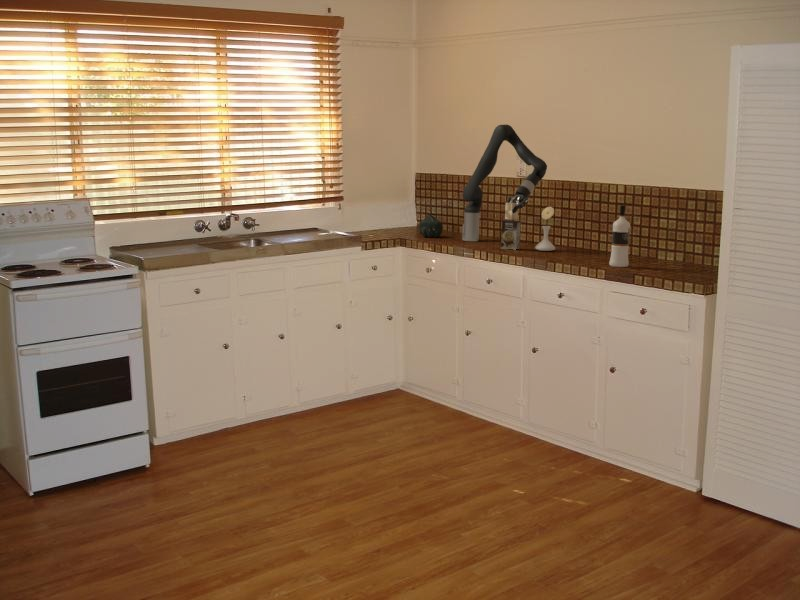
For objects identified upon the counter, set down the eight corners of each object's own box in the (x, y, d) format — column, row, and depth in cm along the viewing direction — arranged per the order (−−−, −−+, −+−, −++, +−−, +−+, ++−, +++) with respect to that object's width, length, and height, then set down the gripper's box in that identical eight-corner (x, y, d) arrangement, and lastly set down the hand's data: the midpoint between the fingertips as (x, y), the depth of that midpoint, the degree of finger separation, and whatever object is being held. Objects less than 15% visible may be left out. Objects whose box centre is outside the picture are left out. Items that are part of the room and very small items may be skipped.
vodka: (612, 264, 442) (617, 204, 437) (631, 266, 437) (635, 205, 432) (606, 266, 434) (610, 204, 429) (624, 268, 429) (629, 206, 424)
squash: (440, 227, 566) (427, 209, 560) (450, 230, 552) (436, 212, 546) (424, 242, 564) (410, 224, 558) (433, 245, 550) (419, 227, 545)
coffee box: (500, 249, 499) (501, 220, 496) (504, 248, 504) (505, 219, 502) (515, 250, 494) (516, 221, 492) (519, 249, 500) (521, 220, 497)
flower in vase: (531, 249, 499) (533, 205, 495) (548, 249, 503) (551, 205, 499) (542, 252, 487) (544, 207, 483) (560, 252, 491) (563, 207, 487)
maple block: (504, 219, 497) (505, 202, 495) (511, 218, 500) (511, 202, 499) (511, 219, 493) (512, 203, 492) (517, 219, 496) (518, 203, 495)
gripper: (512, 184, 504) (497, 206, 498) (531, 185, 493) (515, 208, 487) (518, 194, 508) (503, 215, 502) (537, 195, 497) (521, 217, 491)
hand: (509, 211), depth 495 cm, fingers closed on maple block, 5 cm apart
